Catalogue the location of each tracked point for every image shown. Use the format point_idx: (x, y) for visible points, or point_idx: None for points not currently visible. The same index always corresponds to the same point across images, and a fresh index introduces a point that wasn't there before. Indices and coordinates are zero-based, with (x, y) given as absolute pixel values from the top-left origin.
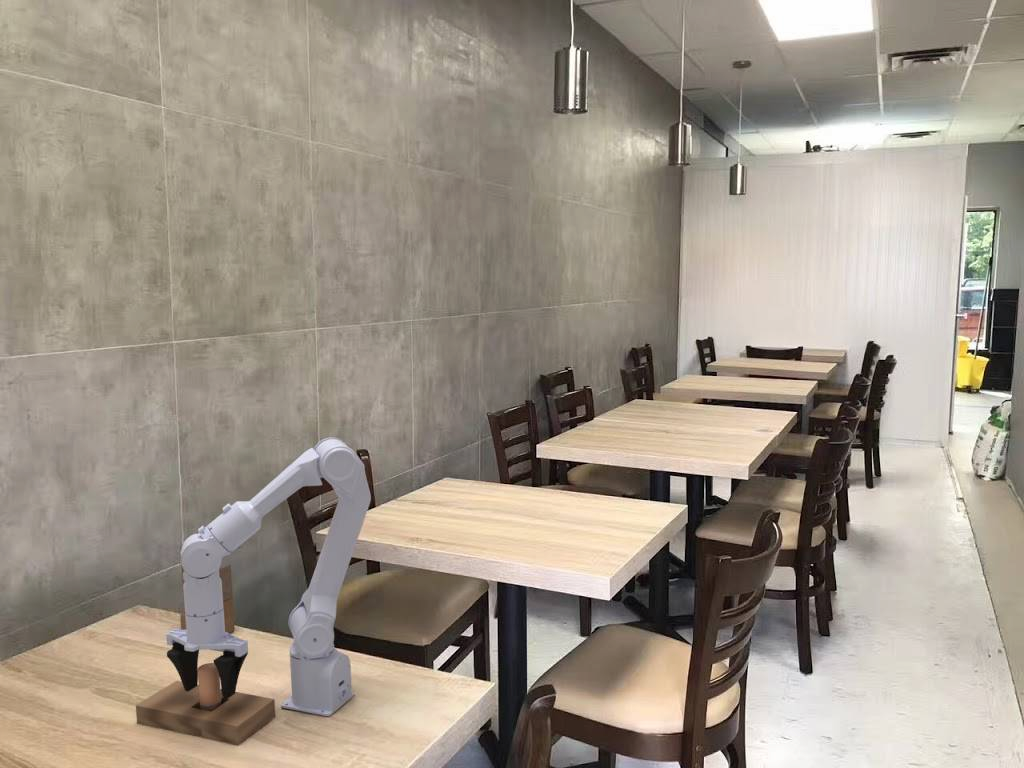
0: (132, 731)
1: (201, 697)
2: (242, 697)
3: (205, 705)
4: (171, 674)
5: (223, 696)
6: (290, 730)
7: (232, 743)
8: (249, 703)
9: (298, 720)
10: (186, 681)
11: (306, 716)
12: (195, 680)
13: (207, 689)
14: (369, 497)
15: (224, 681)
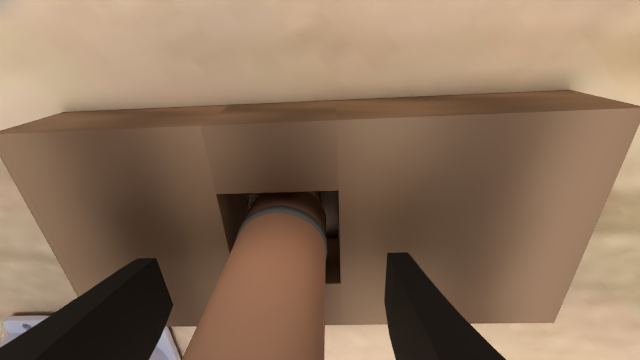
0: (551, 27)
1: (280, 235)
2: (203, 305)
3: (265, 214)
4: (618, 352)
5: (144, 263)
6: (24, 238)
7: (89, 111)
8: None
9: (62, 282)
10: (403, 295)
11: (65, 302)
12: (390, 324)
13: (230, 275)
14: None
15: (16, 341)
